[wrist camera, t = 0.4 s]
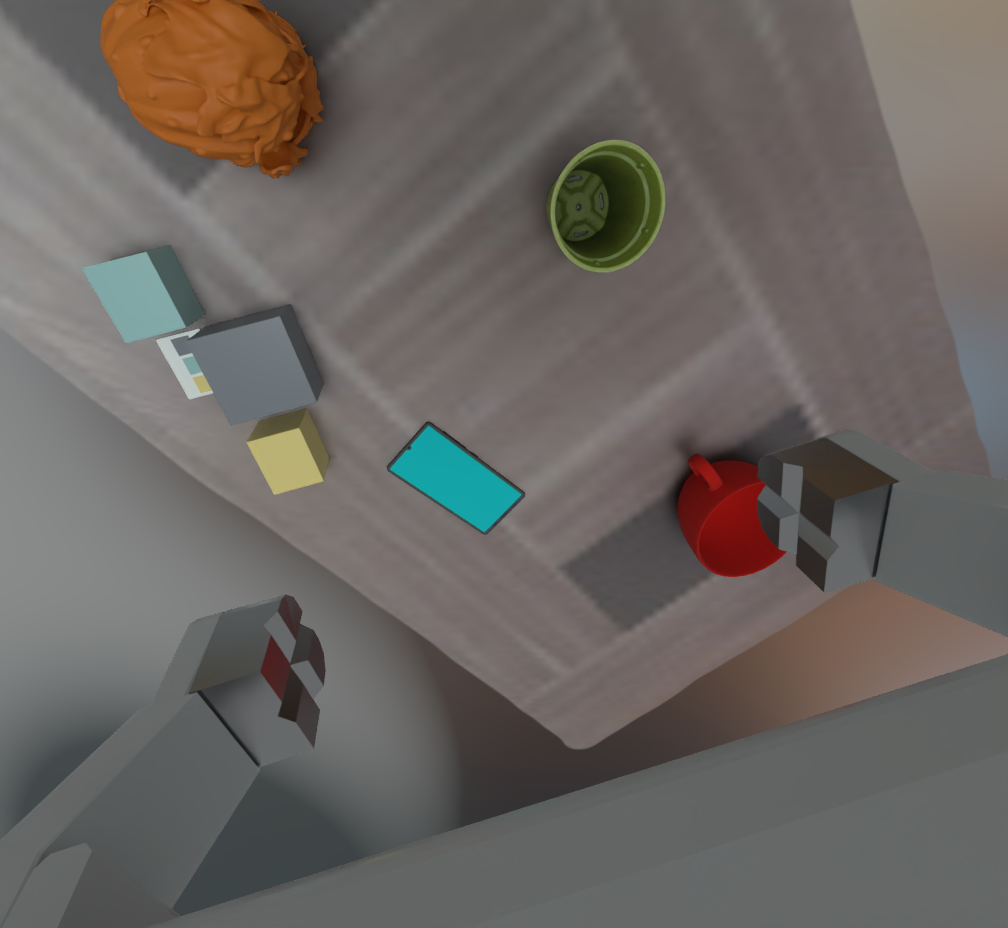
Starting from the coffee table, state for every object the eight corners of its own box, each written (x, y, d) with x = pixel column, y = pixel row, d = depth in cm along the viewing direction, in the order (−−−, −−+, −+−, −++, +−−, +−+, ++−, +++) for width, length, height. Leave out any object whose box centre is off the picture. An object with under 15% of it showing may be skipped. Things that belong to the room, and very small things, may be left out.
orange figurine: (154, 29, 38) (-16, -77, 23) (300, -6, 39) (232, -134, 23) (227, 196, 44) (131, 204, 28) (354, 164, 44) (329, 153, 29)
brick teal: (112, 260, 45) (81, 268, 40) (170, 245, 45) (146, 251, 40) (150, 328, 48) (126, 343, 43) (205, 314, 48) (186, 327, 43)
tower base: (204, 326, 48) (185, 341, 44) (290, 304, 48) (279, 316, 44) (244, 405, 52) (230, 425, 48) (323, 383, 52) (316, 402, 48)
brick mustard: (259, 421, 53) (246, 442, 49) (307, 408, 53) (299, 428, 49) (284, 470, 56) (274, 494, 52) (329, 458, 56) (323, 481, 52)
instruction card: (156, 339, 48) (155, 340, 48) (199, 328, 48) (198, 328, 48) (189, 399, 51) (189, 399, 51) (230, 388, 51) (229, 388, 51)
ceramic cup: (713, 397, 61) (765, 433, 52) (769, 487, 69) (822, 531, 60) (623, 466, 63) (659, 510, 55) (687, 545, 71) (727, 595, 62)
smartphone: (485, 535, 64) (385, 469, 58) (484, 531, 65) (385, 466, 58) (527, 494, 62) (428, 421, 56) (525, 490, 63) (428, 418, 57)
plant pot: (517, 162, 46) (540, 158, 39) (618, 134, 47) (661, 125, 39) (538, 270, 51) (562, 285, 43) (630, 244, 51) (670, 255, 44)
